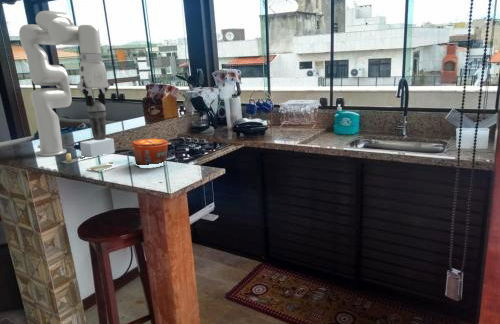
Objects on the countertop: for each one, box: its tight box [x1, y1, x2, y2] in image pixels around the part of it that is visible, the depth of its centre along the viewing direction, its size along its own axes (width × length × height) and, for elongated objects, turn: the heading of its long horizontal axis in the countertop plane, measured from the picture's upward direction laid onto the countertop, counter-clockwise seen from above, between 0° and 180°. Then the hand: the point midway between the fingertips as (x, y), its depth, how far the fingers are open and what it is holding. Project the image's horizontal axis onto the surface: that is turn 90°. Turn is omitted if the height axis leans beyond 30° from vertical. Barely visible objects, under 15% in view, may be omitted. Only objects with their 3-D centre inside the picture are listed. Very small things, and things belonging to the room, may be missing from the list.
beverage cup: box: [86, 89, 107, 140], centre depth 149 cm, size 7×7×20 cm
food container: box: [130, 137, 170, 165], centre depth 160 cm, size 16×16×11 cm
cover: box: [79, 137, 116, 157], centre depth 179 cm, size 7×14×7 cm, turn 153°
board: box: [86, 160, 114, 171], centre depth 158 cm, size 8×18×1 cm, turn 153°
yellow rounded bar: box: [60, 152, 85, 165], centre depth 168 cm, size 5×12×4 cm, turn 153°
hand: (96, 104), depth 148 cm, fingers closed on beverage cup, 5 cm apart
